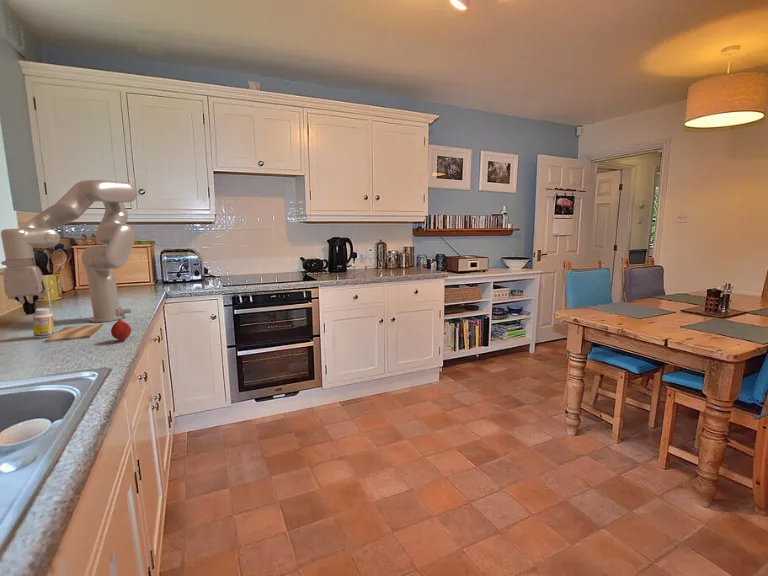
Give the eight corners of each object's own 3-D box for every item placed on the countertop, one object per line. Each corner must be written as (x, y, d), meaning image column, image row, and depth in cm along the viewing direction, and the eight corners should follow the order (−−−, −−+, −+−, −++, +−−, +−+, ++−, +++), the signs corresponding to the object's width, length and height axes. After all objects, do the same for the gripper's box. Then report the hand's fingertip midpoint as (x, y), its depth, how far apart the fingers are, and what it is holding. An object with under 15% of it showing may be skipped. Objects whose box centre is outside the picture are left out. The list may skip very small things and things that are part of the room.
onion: (111, 344, 133) (108, 322, 131) (114, 340, 138) (110, 318, 136) (131, 341, 135) (128, 319, 134) (133, 337, 140) (130, 316, 139)
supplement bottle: (45, 333, 147) (44, 306, 145) (57, 335, 146) (56, 308, 144) (29, 336, 141) (28, 309, 140) (42, 339, 140) (41, 311, 139)
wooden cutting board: (103, 325, 158) (103, 323, 158) (89, 337, 141) (89, 335, 141) (64, 329, 153) (64, 327, 153) (45, 342, 137) (44, 340, 136)
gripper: (-12, 266, 132) (-2, 318, 135) (42, 263, 137) (51, 313, 140) (0, 263, 138) (10, 313, 142) (51, 261, 144) (60, 309, 147)
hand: (30, 313), depth 141 cm, fingers closed
